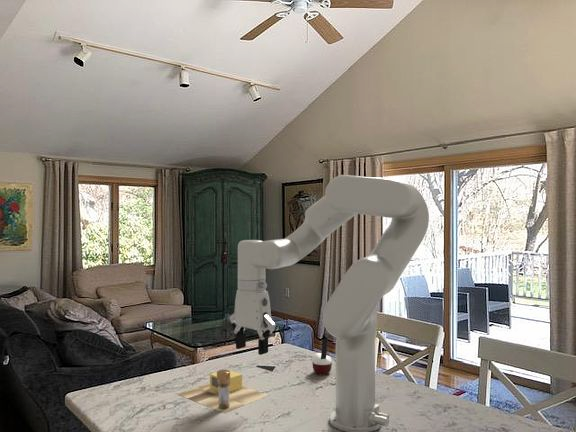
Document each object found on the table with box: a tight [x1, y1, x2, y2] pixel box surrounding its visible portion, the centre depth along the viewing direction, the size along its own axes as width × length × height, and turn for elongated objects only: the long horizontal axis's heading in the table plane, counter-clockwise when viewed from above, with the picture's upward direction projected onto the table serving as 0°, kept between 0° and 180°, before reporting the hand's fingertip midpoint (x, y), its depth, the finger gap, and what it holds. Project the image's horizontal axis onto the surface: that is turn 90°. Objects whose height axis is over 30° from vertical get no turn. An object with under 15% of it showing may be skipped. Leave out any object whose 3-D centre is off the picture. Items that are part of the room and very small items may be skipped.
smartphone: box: [255, 363, 279, 373], centre depth 150 cm, size 7×16×1 cm, turn 169°
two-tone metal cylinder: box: [216, 369, 231, 409], centre depth 119 cm, size 3×3×9 cm
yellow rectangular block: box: [209, 369, 243, 393], centre depth 133 cm, size 7×6×4 cm
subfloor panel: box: [176, 382, 269, 414], centre depth 128 cm, size 20×16×1 cm
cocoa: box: [311, 338, 333, 376], centre depth 149 cm, size 10×6×12 cm, turn 168°
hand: (251, 350), depth 126 cm, fingers open, 8 cm apart
